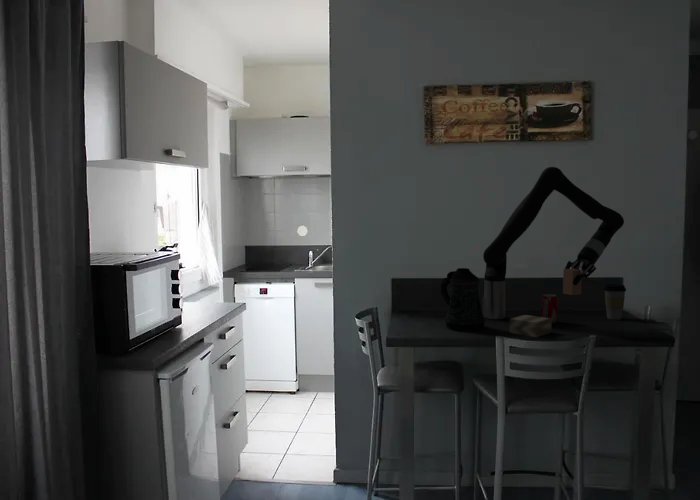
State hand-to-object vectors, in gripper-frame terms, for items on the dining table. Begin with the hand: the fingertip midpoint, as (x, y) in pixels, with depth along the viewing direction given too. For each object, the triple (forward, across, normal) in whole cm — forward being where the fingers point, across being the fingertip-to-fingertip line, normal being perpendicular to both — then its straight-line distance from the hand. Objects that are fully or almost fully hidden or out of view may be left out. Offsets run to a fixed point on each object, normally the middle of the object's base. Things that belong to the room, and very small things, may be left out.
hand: (568, 282), depth 254 cm
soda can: (+10, -17, +18) cm, 27 cm away
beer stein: (+38, -26, -10) cm, 48 cm away
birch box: (+25, -4, +3) cm, 26 cm away
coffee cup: (-12, -9, +40) cm, 43 cm away
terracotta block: (+2, 0, +5) cm, 5 cm away
